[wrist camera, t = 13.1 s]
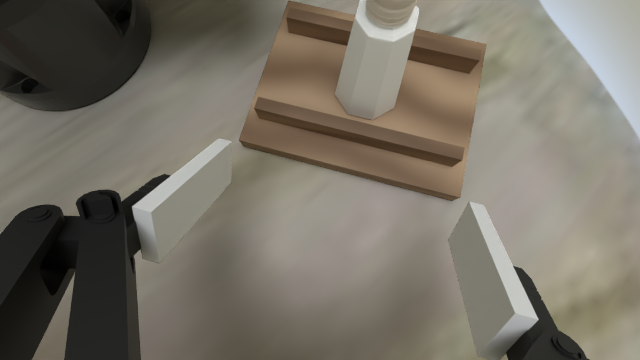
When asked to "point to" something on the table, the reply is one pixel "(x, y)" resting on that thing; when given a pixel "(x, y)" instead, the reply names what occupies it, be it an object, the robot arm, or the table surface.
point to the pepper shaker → (376, 56)
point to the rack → (361, 133)
